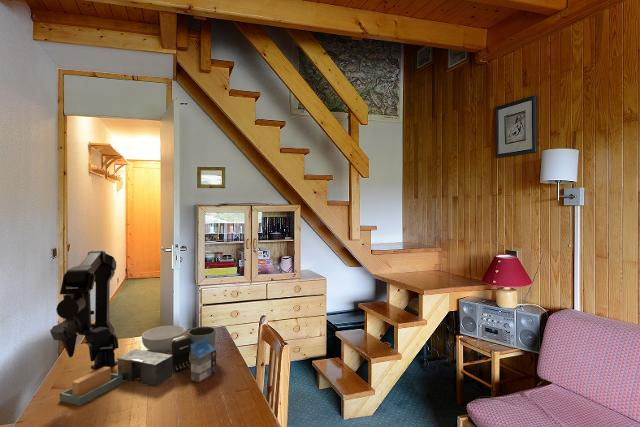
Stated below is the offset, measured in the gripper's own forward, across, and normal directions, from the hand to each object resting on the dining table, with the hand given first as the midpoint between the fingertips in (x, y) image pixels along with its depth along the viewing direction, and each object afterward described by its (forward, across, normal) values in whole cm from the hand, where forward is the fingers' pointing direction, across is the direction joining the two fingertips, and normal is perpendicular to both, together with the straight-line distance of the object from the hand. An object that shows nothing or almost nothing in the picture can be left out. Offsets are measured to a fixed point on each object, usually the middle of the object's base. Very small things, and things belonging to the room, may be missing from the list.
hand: (81, 358), depth 127 cm
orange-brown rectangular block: (+11, 0, +4) cm, 12 cm away
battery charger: (+12, +16, +27) cm, 33 cm away
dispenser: (+12, +9, +17) cm, 22 cm away
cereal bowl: (+12, -4, +41) cm, 43 cm away
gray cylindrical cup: (+12, +19, +35) cm, 41 cm away
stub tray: (+12, 0, +4) cm, 12 cm away
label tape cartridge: (+12, +27, +25) cm, 39 cm away
